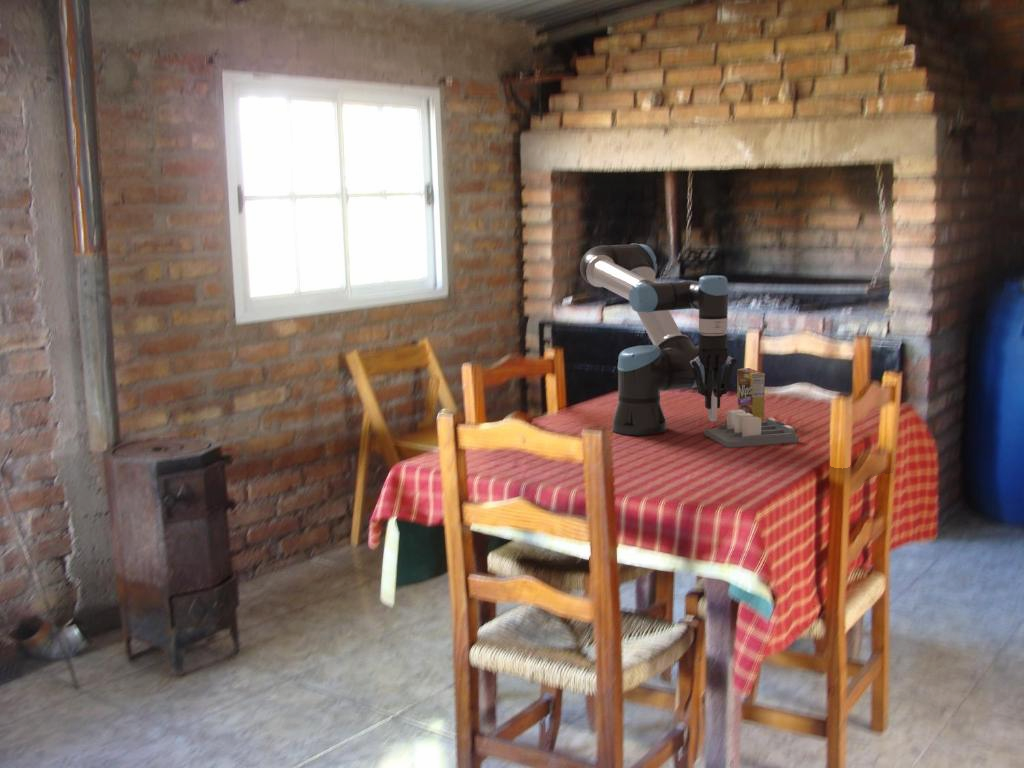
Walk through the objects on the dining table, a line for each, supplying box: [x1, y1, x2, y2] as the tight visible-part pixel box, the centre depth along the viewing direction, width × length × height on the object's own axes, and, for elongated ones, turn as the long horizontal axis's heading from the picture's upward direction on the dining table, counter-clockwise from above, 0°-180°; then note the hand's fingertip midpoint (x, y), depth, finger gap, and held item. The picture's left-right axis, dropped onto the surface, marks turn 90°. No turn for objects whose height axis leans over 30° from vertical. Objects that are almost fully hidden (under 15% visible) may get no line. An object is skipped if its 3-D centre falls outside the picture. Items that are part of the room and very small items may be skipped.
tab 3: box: [742, 417, 761, 436], centre depth 290 cm, size 4×3×5 cm
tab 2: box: [735, 413, 753, 432], centre depth 295 cm, size 4×3×5 cm
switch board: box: [704, 417, 800, 449], centre depth 295 cm, size 20×16×4 cm
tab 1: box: [726, 409, 746, 428], centre depth 299 cm, size 4×3×5 cm
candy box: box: [736, 367, 766, 422], centre depth 313 cm, size 9×4×15 cm, turn 17°
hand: (712, 420), depth 298 cm, fingers closed
